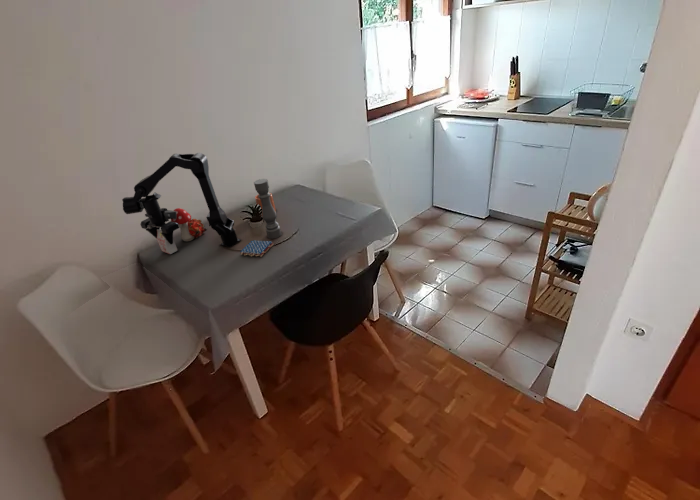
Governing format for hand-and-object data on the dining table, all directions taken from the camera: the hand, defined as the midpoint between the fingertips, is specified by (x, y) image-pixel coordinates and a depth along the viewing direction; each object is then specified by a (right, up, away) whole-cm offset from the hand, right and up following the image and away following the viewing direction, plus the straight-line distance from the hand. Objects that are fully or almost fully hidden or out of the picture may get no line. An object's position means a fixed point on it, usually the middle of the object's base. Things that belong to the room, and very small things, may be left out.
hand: (166, 242), depth 179 cm
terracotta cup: (+39, +15, +26) cm, 49 cm away
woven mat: (+41, -3, -7) cm, 42 cm away
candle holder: (+46, +3, +3) cm, 46 cm away
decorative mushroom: (+4, +9, +8) cm, 12 cm away
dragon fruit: (+9, +3, +13) cm, 16 cm away
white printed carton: (+1, -4, +2) cm, 4 cm away
